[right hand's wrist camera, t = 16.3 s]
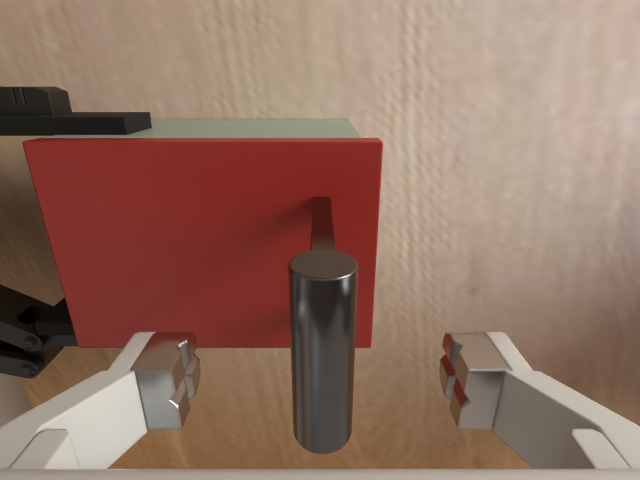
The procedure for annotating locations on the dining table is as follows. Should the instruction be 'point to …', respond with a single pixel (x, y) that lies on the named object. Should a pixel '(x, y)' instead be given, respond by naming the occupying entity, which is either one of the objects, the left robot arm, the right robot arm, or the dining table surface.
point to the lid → (222, 250)
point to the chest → (240, 129)
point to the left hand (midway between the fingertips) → (156, 228)
